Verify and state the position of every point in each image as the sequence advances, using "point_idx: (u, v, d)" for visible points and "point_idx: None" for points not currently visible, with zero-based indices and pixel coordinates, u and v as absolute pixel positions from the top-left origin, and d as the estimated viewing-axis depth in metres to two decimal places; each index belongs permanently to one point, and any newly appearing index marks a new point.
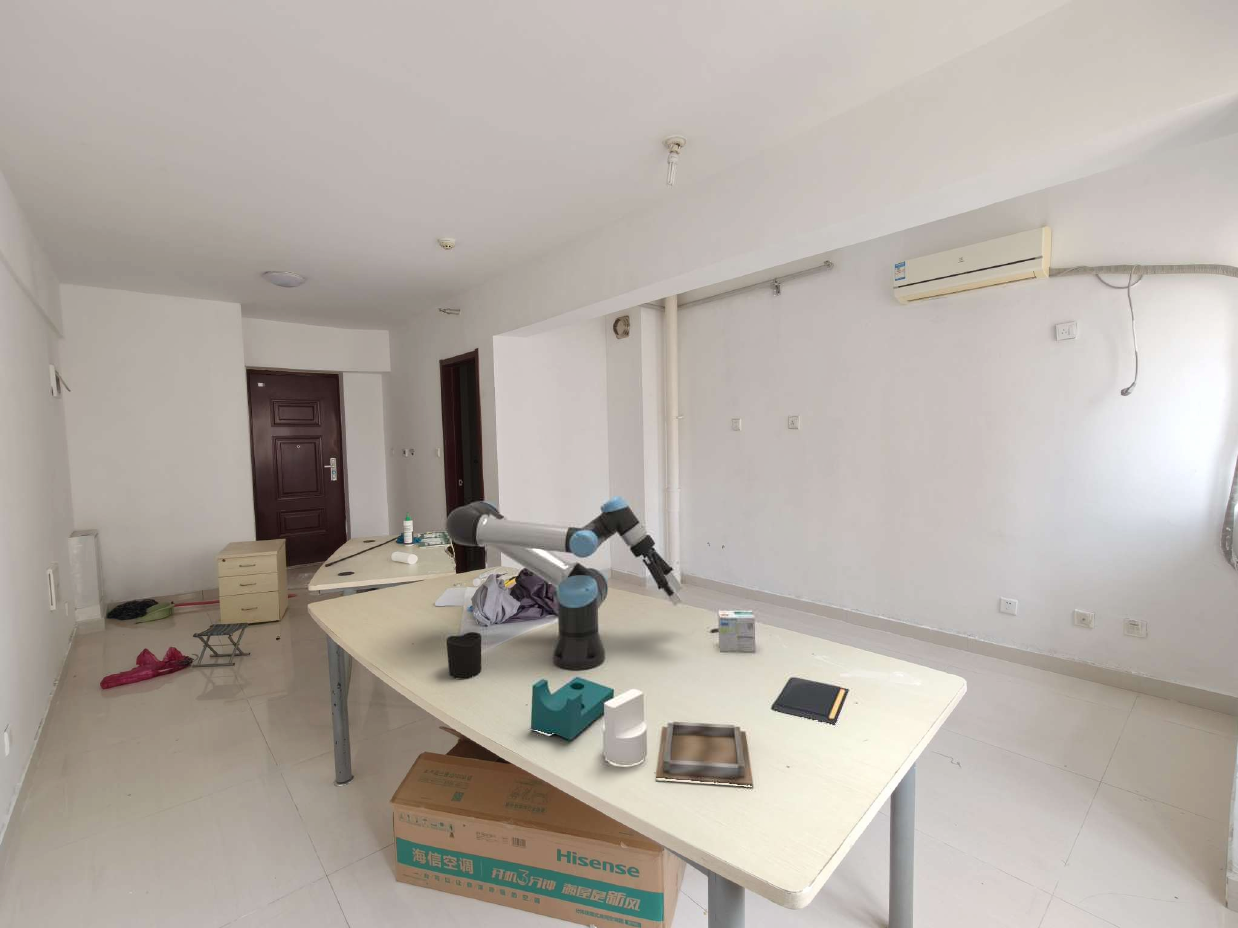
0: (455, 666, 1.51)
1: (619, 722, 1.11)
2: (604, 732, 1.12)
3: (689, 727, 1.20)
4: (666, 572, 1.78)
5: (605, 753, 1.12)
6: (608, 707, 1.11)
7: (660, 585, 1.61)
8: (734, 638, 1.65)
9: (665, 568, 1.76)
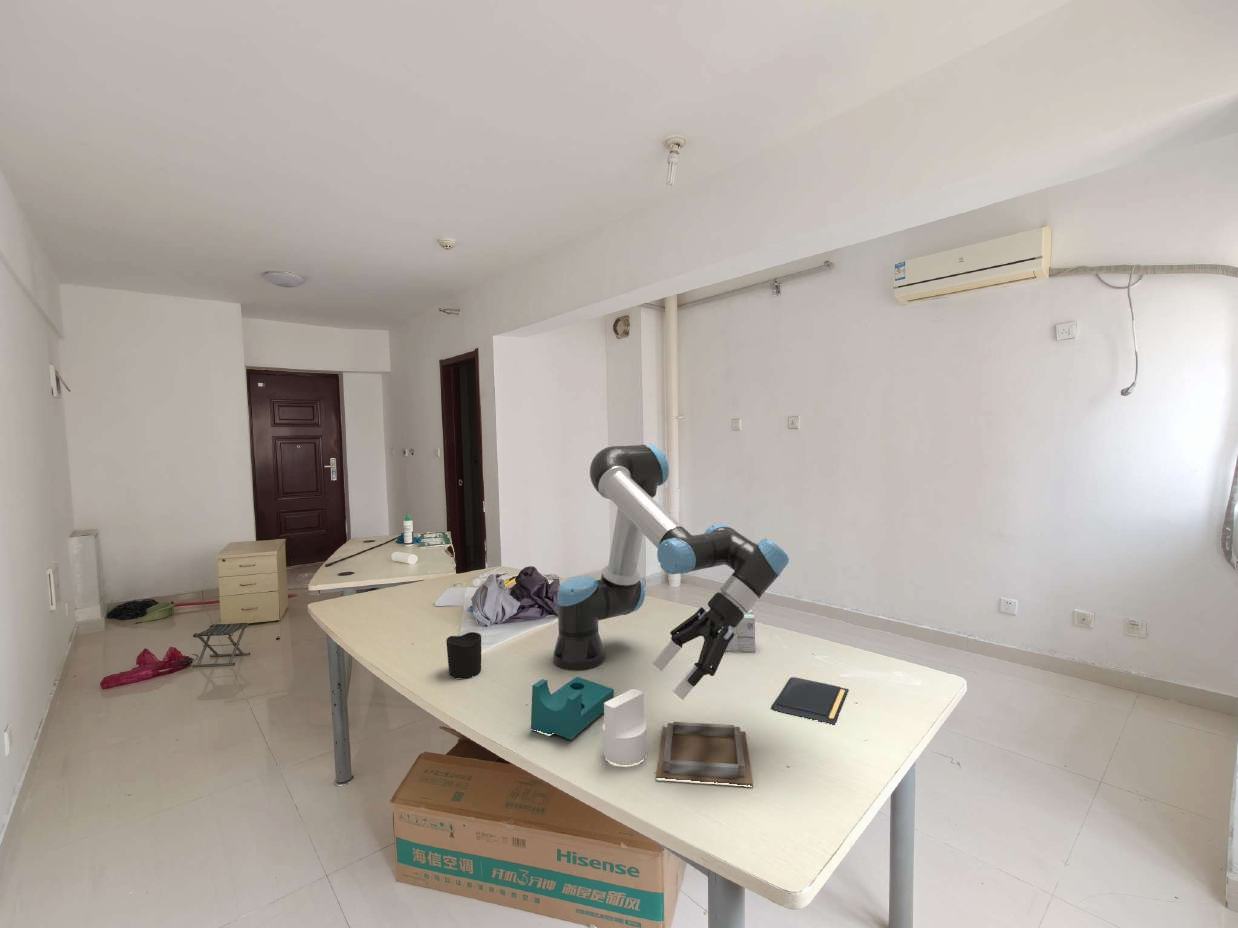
0: (455, 666, 1.51)
1: (619, 722, 1.11)
2: (604, 732, 1.12)
3: (689, 727, 1.20)
4: (676, 640, 1.23)
5: (605, 753, 1.12)
6: (608, 707, 1.11)
7: (707, 669, 1.07)
8: (734, 638, 1.65)
9: (685, 640, 1.22)
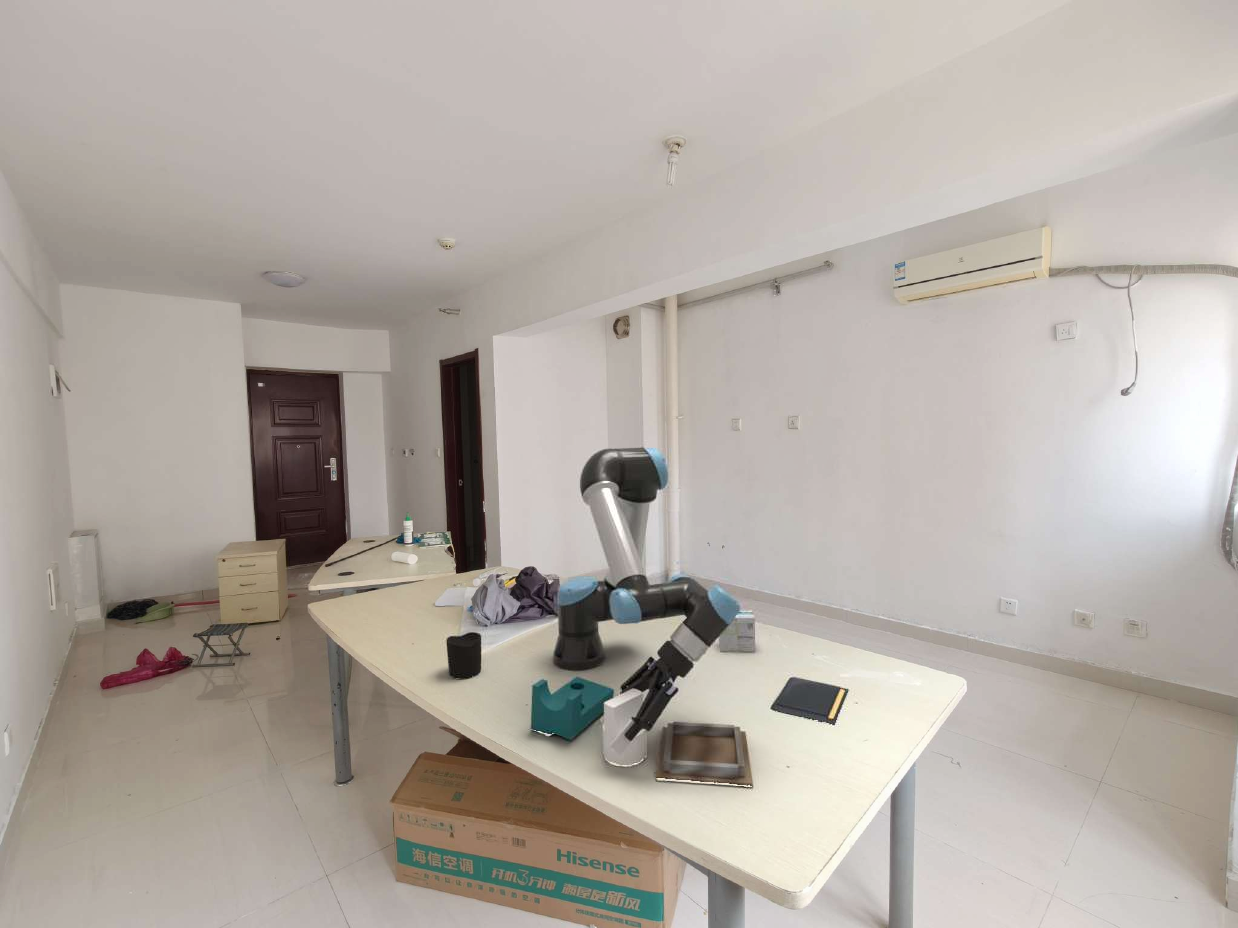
0: (455, 666, 1.51)
1: (619, 722, 1.11)
2: (604, 732, 1.12)
3: (689, 727, 1.20)
4: None
5: (605, 753, 1.12)
6: (608, 707, 1.11)
7: (643, 724, 1.06)
8: (734, 638, 1.65)
9: None
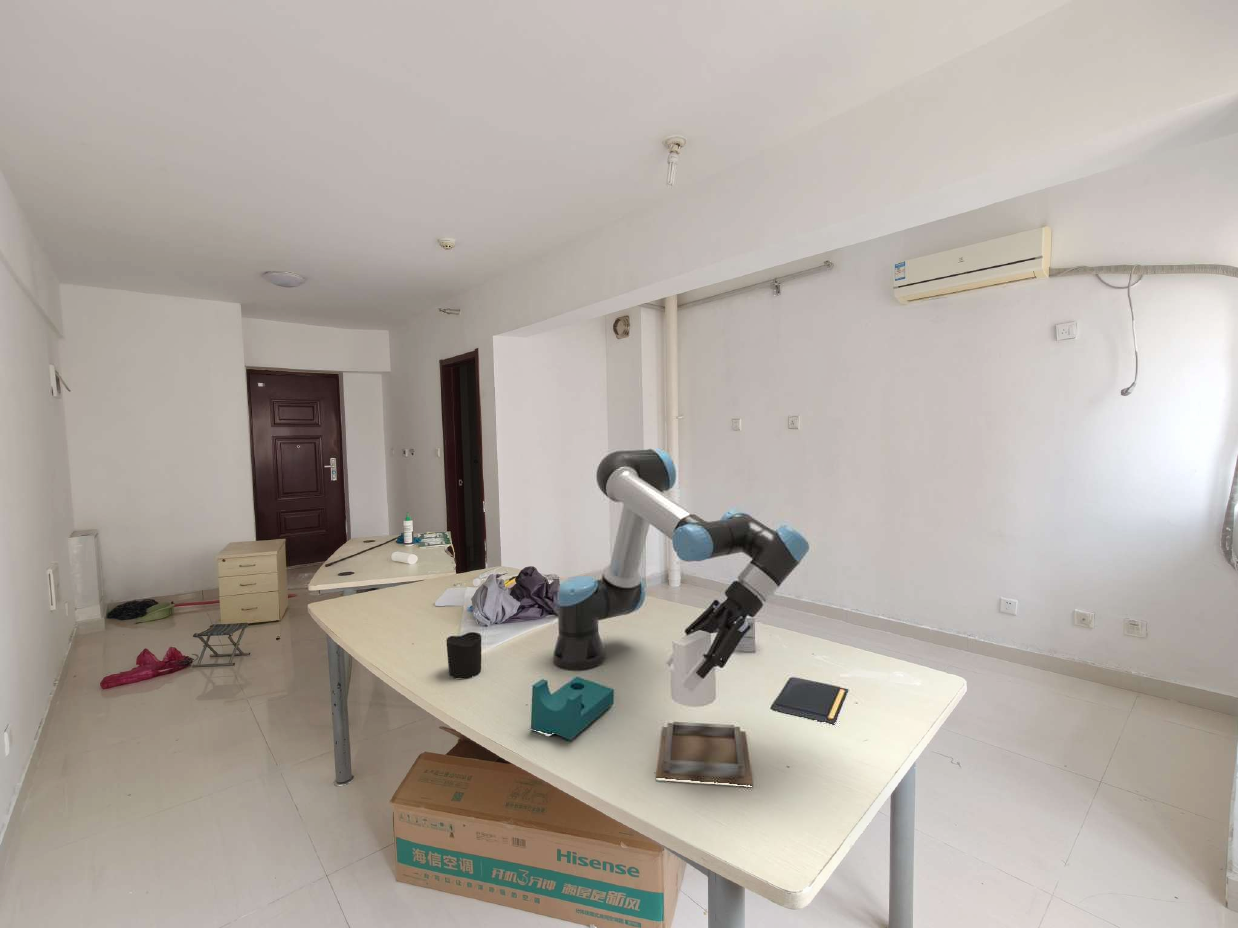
0: (455, 666, 1.51)
1: (689, 661, 1.09)
2: (673, 672, 1.10)
3: (689, 727, 1.20)
4: None
5: (674, 693, 1.10)
6: (678, 645, 1.08)
7: (717, 660, 1.04)
8: None
9: None
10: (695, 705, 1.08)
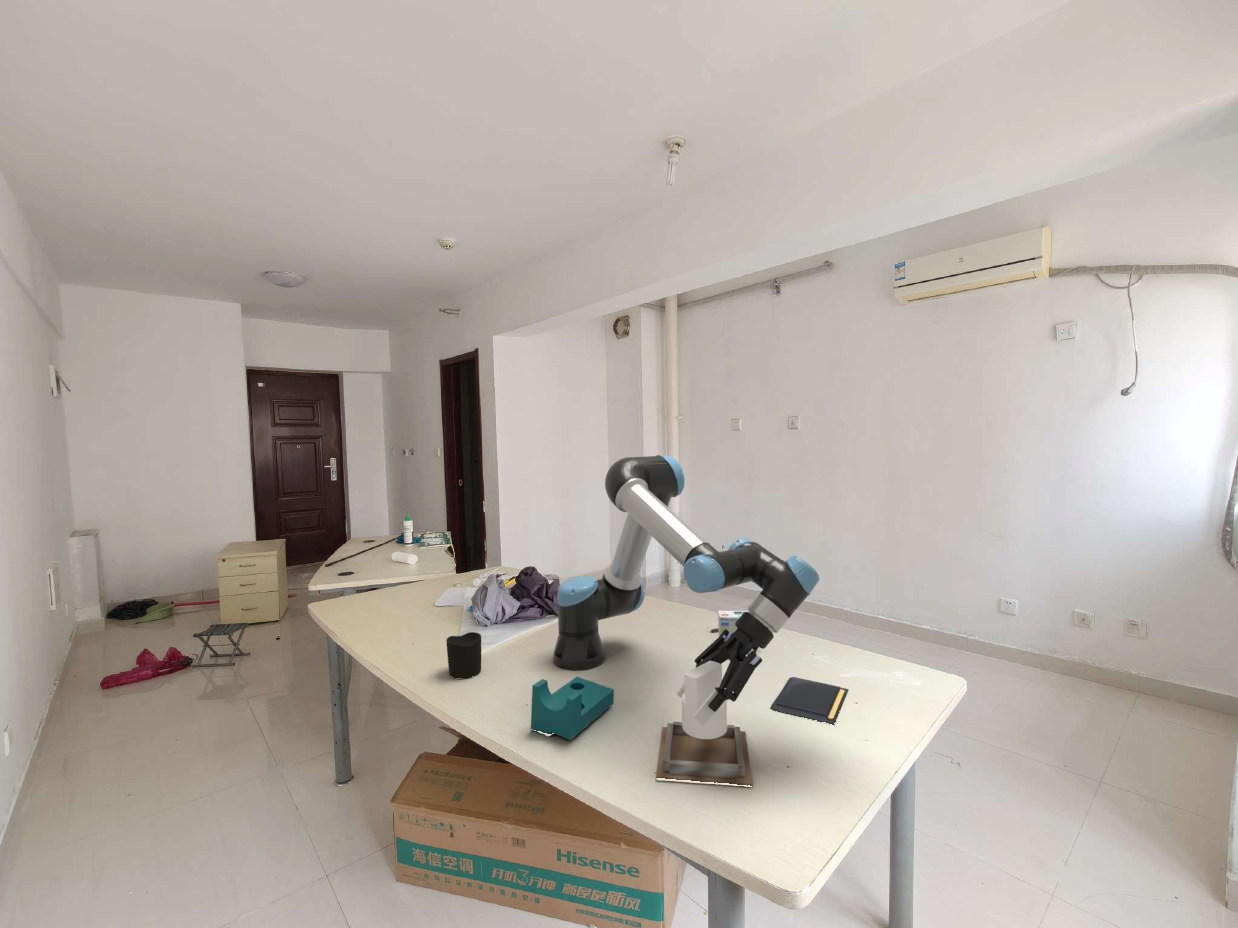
0: (455, 666, 1.51)
1: (701, 694, 1.09)
2: (684, 704, 1.10)
3: None
4: None
5: (685, 725, 1.10)
6: (690, 678, 1.09)
7: (729, 694, 1.04)
8: None
9: None
10: (707, 738, 1.08)
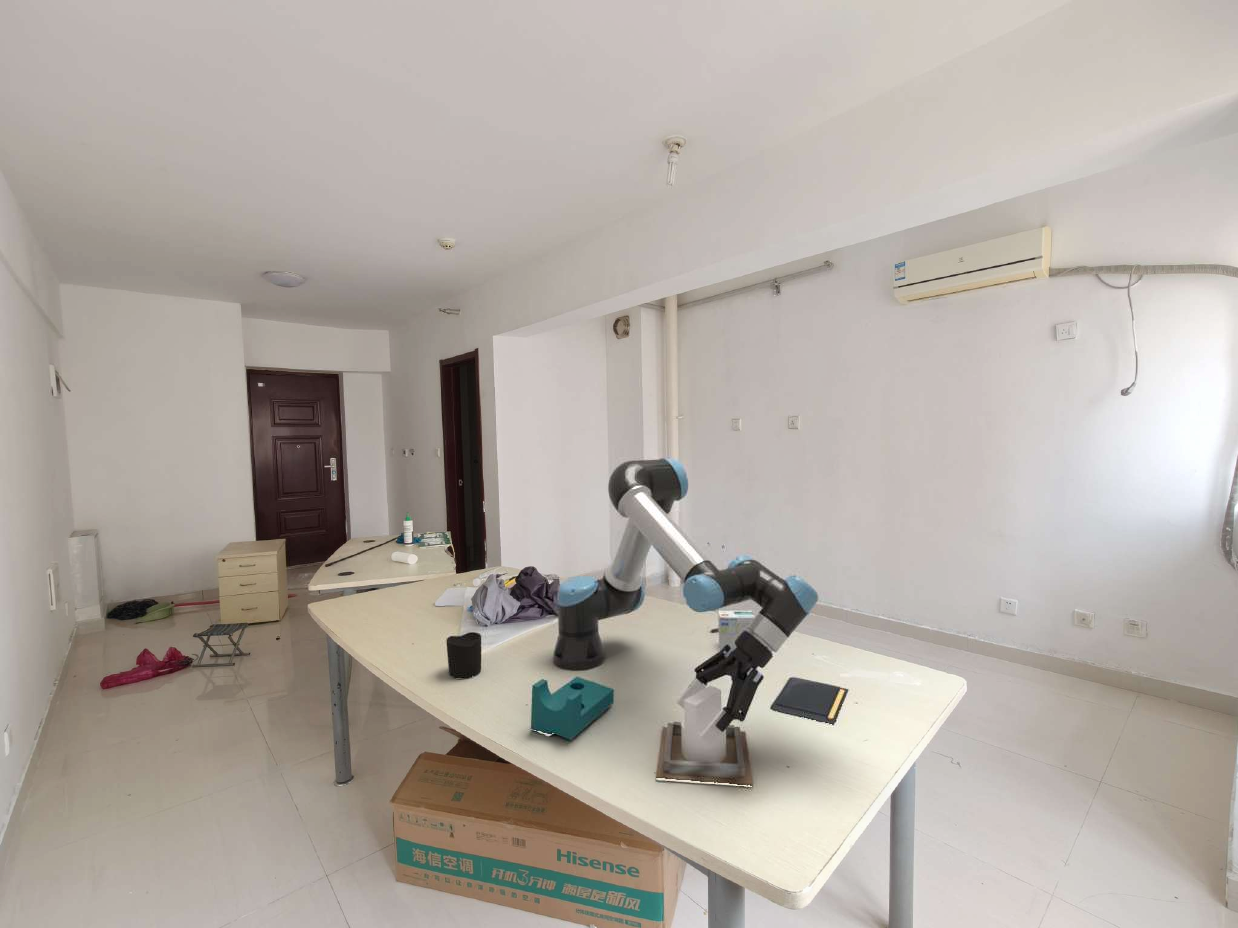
0: (455, 666, 1.51)
1: (700, 720, 1.10)
2: (684, 730, 1.11)
3: None
4: (701, 678, 1.20)
5: (685, 751, 1.11)
6: (689, 704, 1.09)
7: (737, 714, 1.03)
8: (734, 638, 1.65)
9: (710, 678, 1.19)
10: None
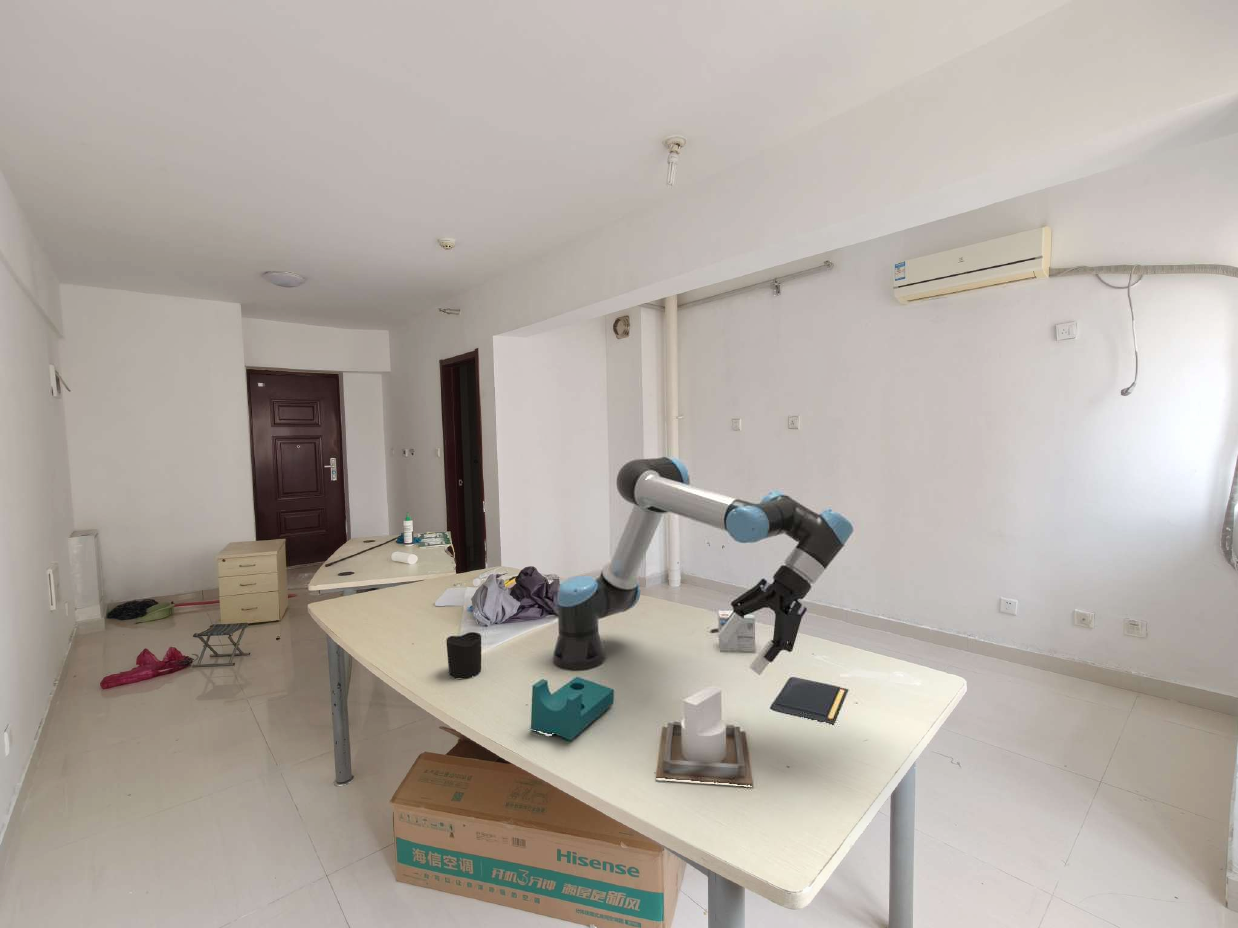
0: (455, 666, 1.51)
1: (700, 720, 1.10)
2: (684, 730, 1.11)
3: None
4: (739, 612, 1.24)
5: (685, 751, 1.11)
6: (689, 704, 1.09)
7: (786, 646, 1.08)
8: (734, 638, 1.65)
9: (748, 611, 1.23)
10: None
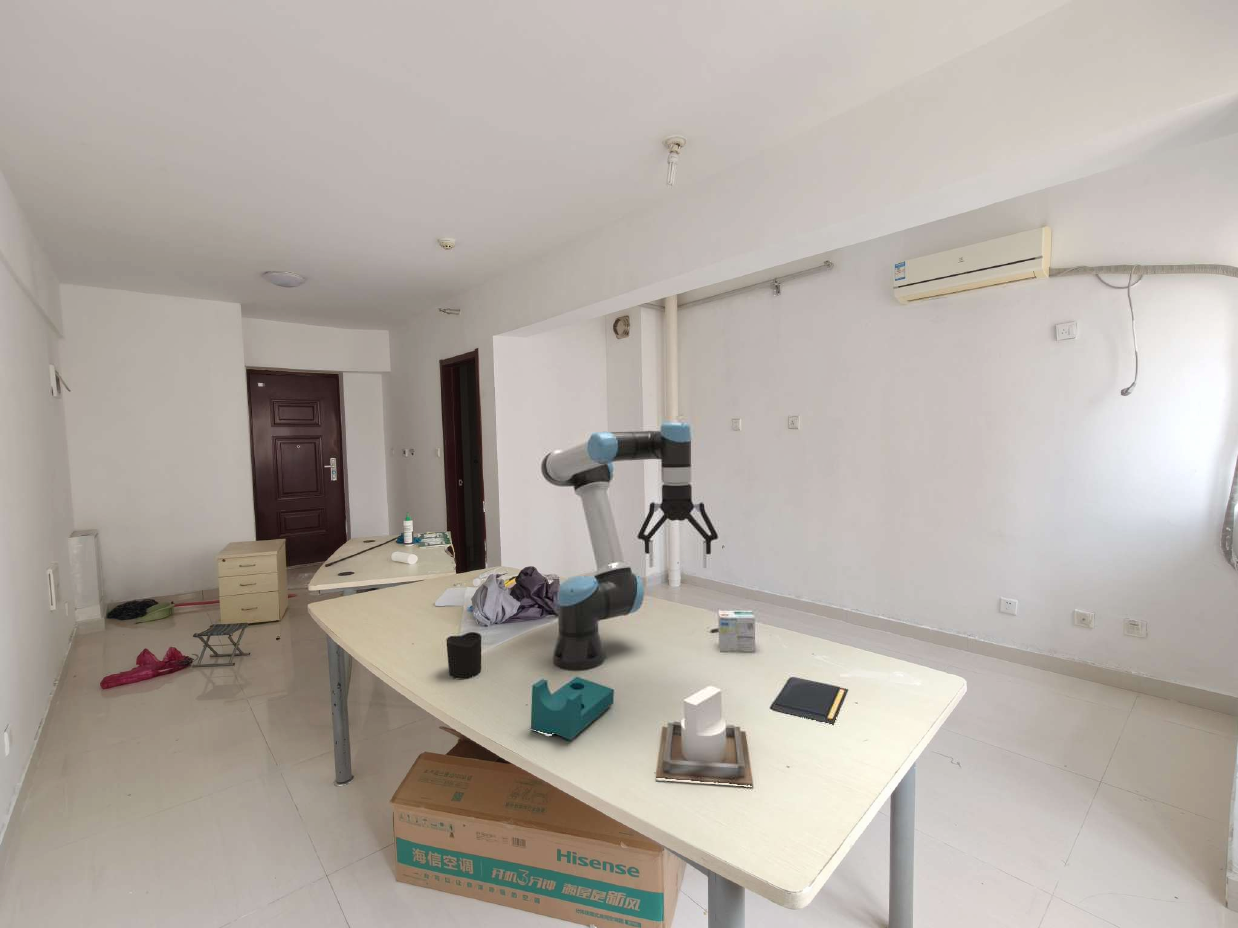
0: (455, 666, 1.51)
1: (700, 720, 1.10)
2: (684, 730, 1.11)
3: None
4: None
5: (685, 751, 1.11)
6: (689, 704, 1.09)
7: (717, 536, 1.39)
8: (734, 638, 1.65)
9: None
10: None
